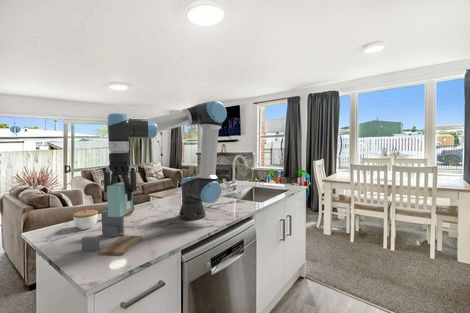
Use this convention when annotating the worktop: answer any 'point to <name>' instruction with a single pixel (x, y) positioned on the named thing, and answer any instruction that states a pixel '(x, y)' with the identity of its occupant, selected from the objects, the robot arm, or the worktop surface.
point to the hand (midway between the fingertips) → (121, 208)
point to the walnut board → (121, 245)
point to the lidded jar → (85, 219)
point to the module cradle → (104, 231)
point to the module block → (117, 200)
